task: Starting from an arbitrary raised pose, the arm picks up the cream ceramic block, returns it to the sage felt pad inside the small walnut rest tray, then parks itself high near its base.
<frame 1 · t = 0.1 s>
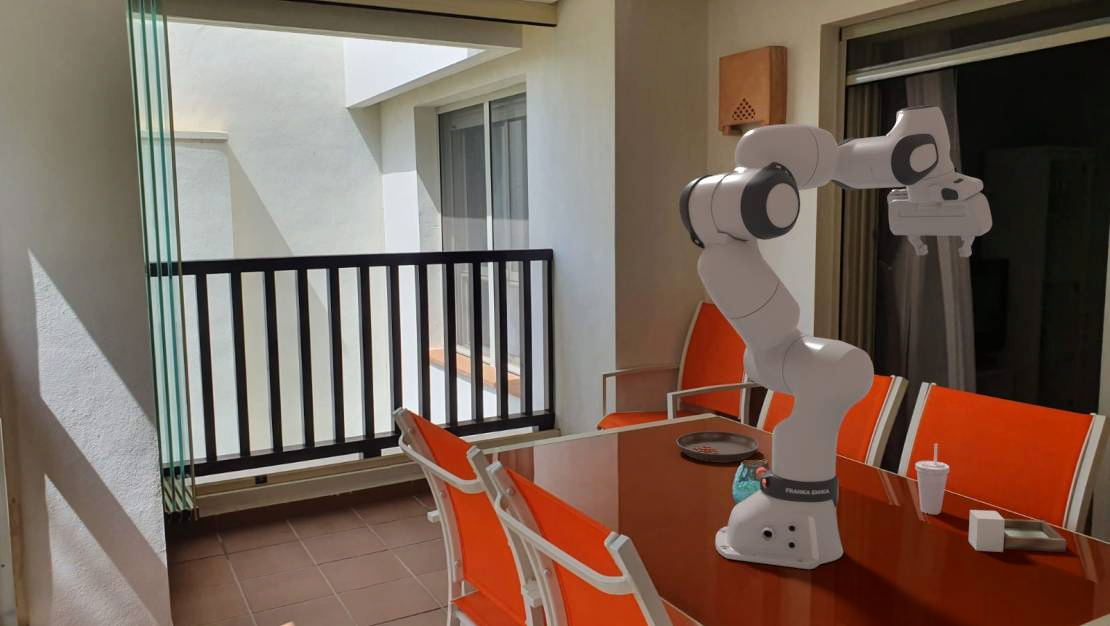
hand: (943, 255, 168), 52 cm above the table, tool tilted 20°, fingers open, 8 cm apart
plant saucer: (717, 454, 218), on the table
cream block: (985, 546, 155), on the table
smoothie: (930, 512, 173), on the table
rest tray: (1024, 540, 158), on the table
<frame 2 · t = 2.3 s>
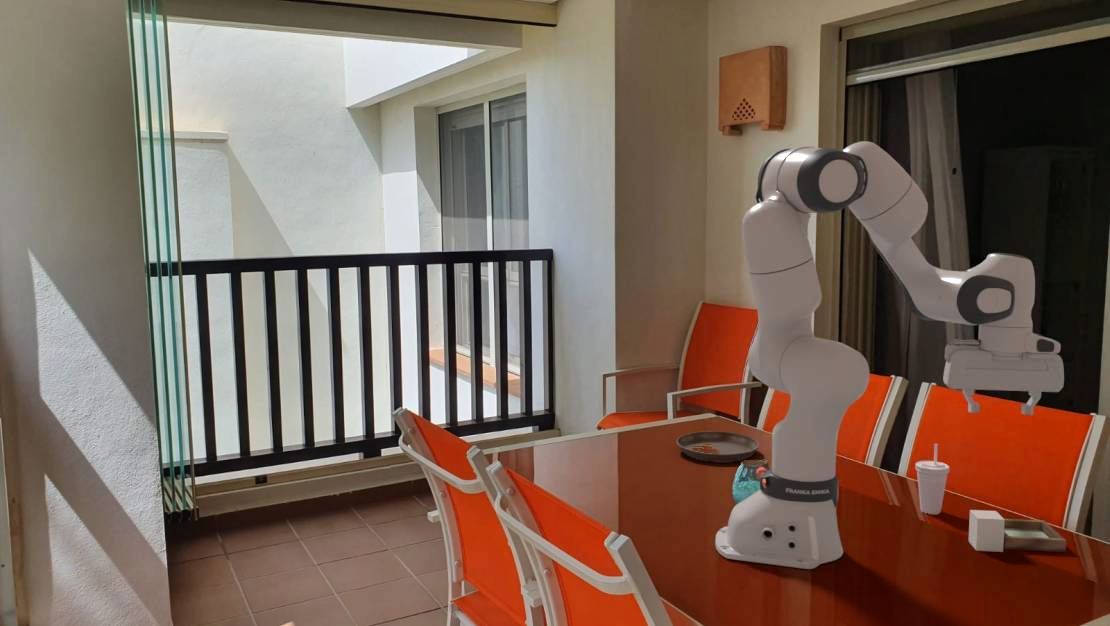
hand: (1000, 413, 160), 23 cm above the table, tool pointing down, fingers open, 8 cm apart
nothing on the table moved.
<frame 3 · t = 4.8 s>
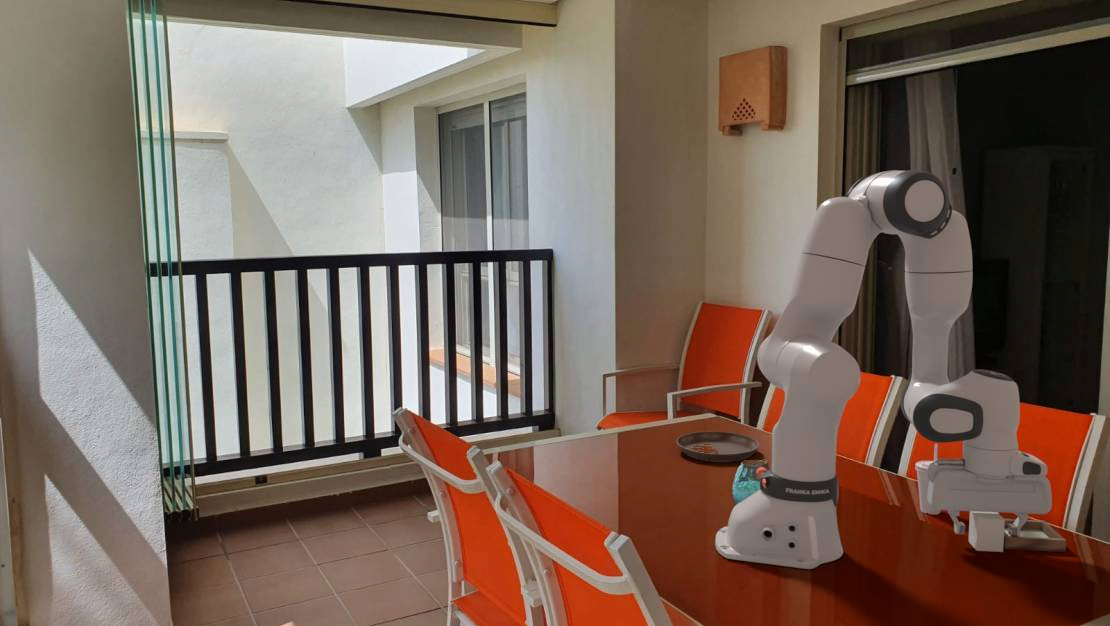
hand: (986, 534, 155), 2 cm above the table, tool pointing down, fingers open, 8 cm apart
nothing on the table moved.
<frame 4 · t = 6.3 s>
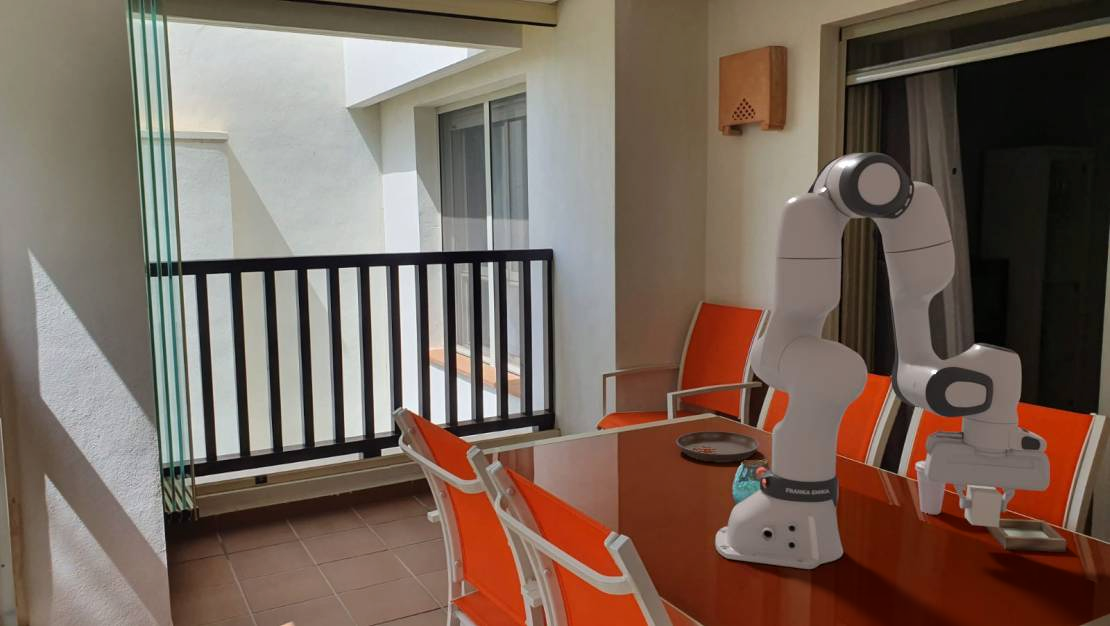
hand: (982, 509, 154), 7 cm above the table, tool pointing down, fingers closed on cream block, 4 cm apart
cream block: (981, 521, 154), point 5 cm above the table, touching gripper
everything else where it was.
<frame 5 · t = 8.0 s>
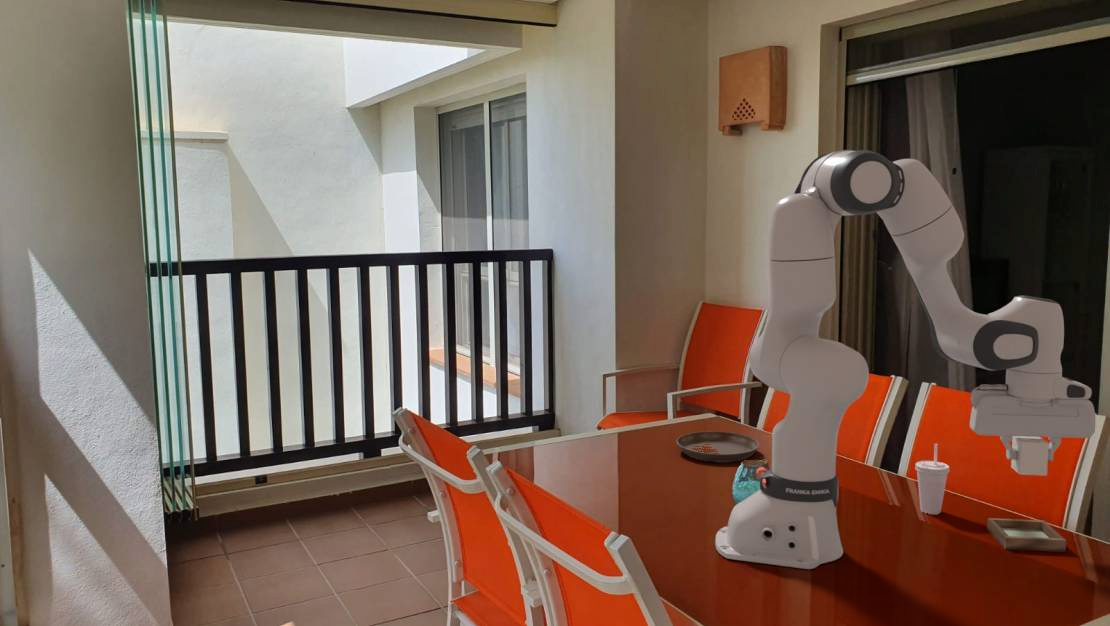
hand: (1029, 459, 156), 15 cm above the table, tool pointing down, fingers closed on cream block, 4 cm apart
cream block: (1028, 471, 156), point 13 cm above the table, touching gripper
everything else where it was.
when the fingers open (4 cm above the table, at t = 10.6 s): cream block drops 1 cm, resting on rest tray.
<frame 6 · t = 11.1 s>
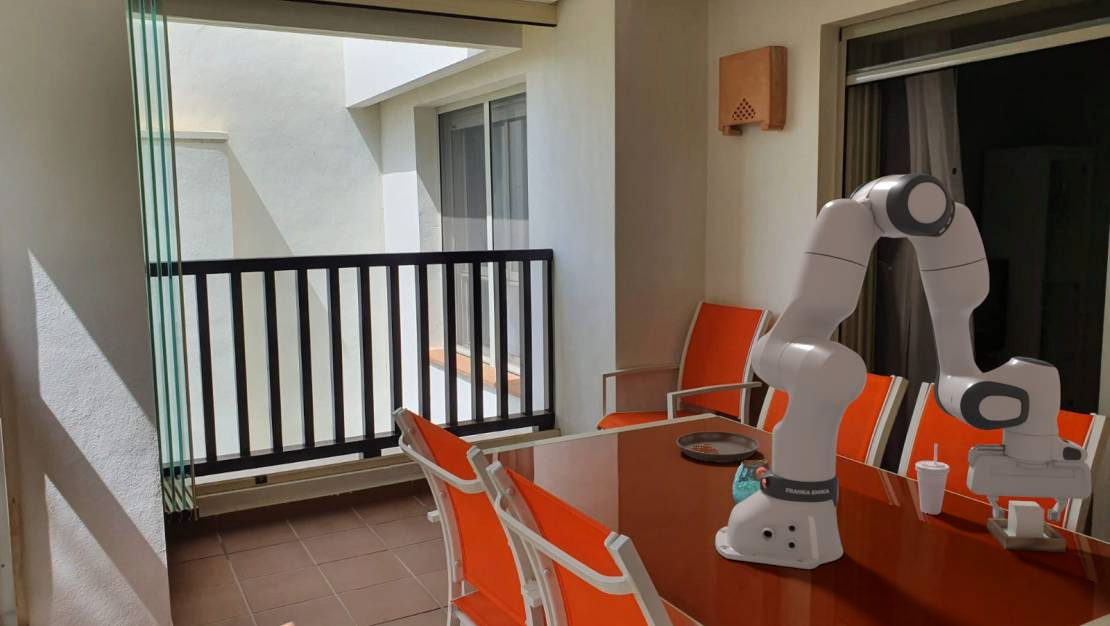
hand: (1025, 518, 157), 4 cm above the table, tool pointing down, fingers open, 8 cm apart
cream block: (1024, 536, 157), point 1 cm above the table, touching rest tray
everything else where it was.
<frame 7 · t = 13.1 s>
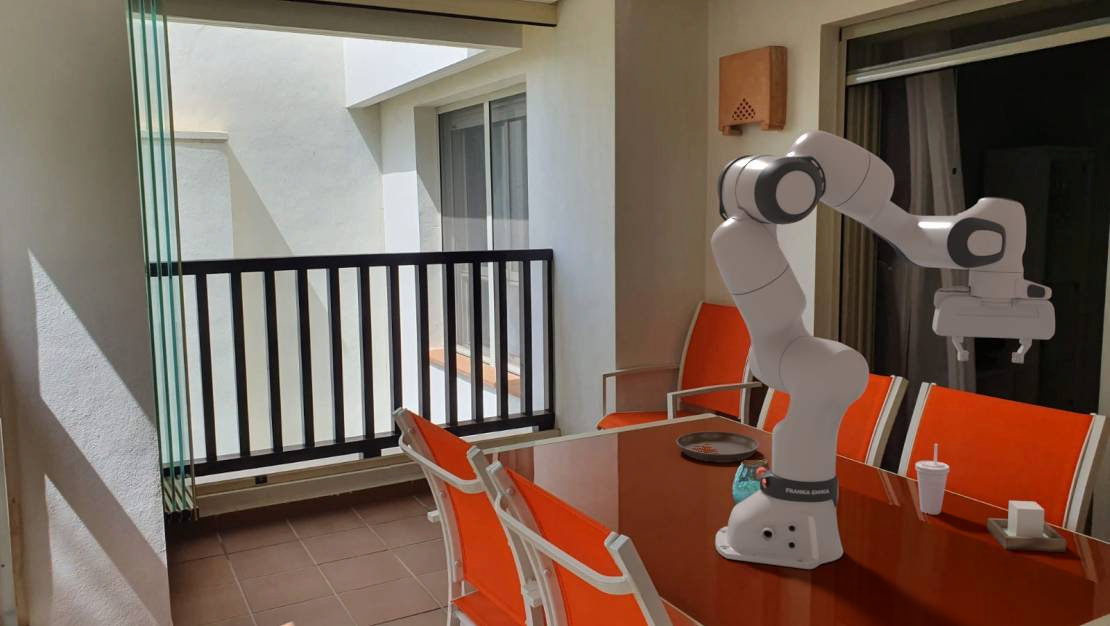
hand: (989, 361, 158), 33 cm above the table, tool pointing down, fingers open, 8 cm apart
nothing on the table moved.
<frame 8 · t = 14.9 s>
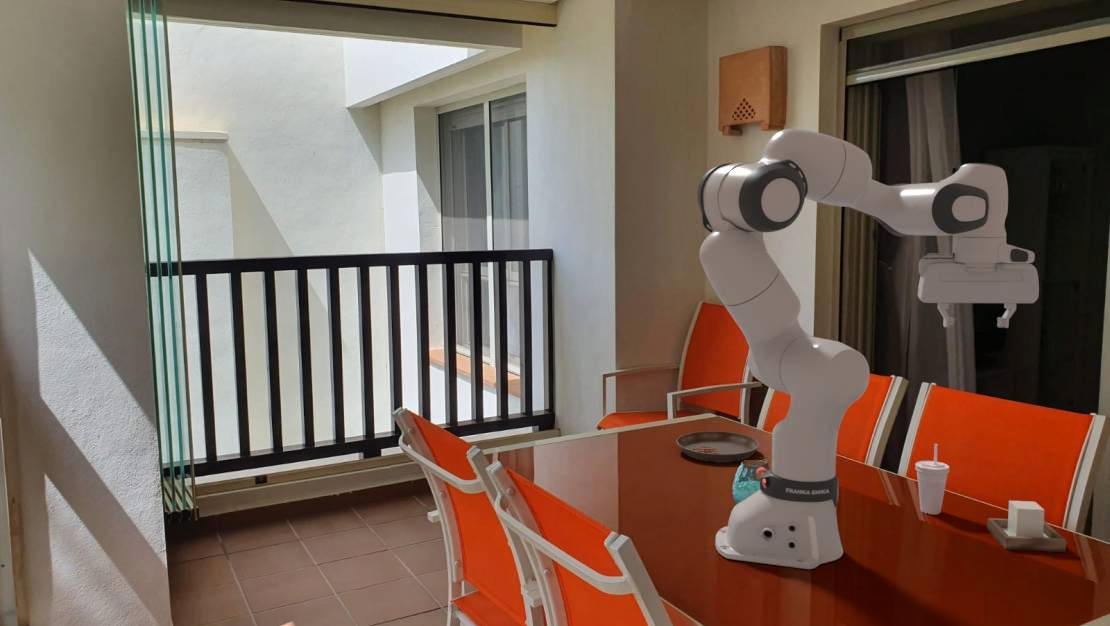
hand: (975, 327, 159), 39 cm above the table, tool pointing down, fingers open, 8 cm apart
nothing on the table moved.
at the end: cream block 0.0 cm off-centre on the rest tray, point 0.7 cm above the rest tray's base; cream block tilted 0°; the gripper is holding nothing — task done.
